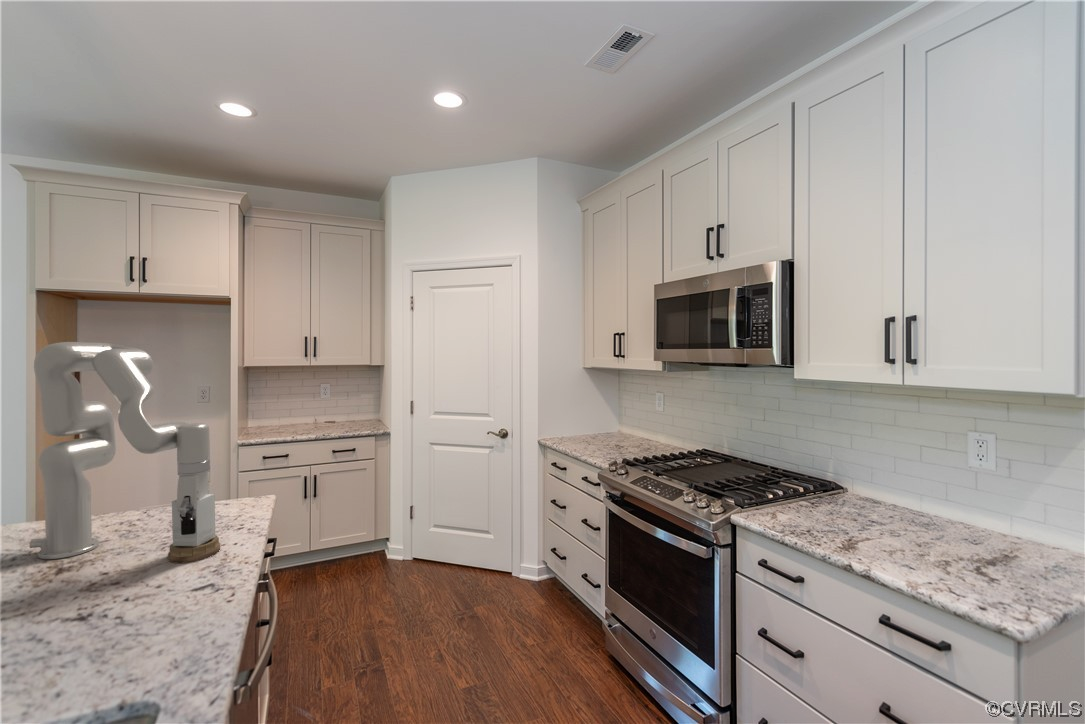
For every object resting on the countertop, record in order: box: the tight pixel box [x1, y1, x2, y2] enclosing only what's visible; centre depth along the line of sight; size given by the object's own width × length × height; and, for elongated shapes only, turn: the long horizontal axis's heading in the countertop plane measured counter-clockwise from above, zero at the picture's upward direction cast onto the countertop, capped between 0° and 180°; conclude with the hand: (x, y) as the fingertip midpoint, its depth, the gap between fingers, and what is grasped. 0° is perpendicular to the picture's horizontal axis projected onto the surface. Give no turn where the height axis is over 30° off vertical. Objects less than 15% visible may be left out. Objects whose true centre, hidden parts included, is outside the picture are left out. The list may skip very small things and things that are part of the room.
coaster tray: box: [167, 534, 221, 564], centre depth 138 cm, size 12×12×4 cm
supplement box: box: [171, 493, 217, 546], centre depth 138 cm, size 7×7×13 cm
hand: (195, 528), depth 138 cm, fingers closed on supplement box, 9 cm apart
